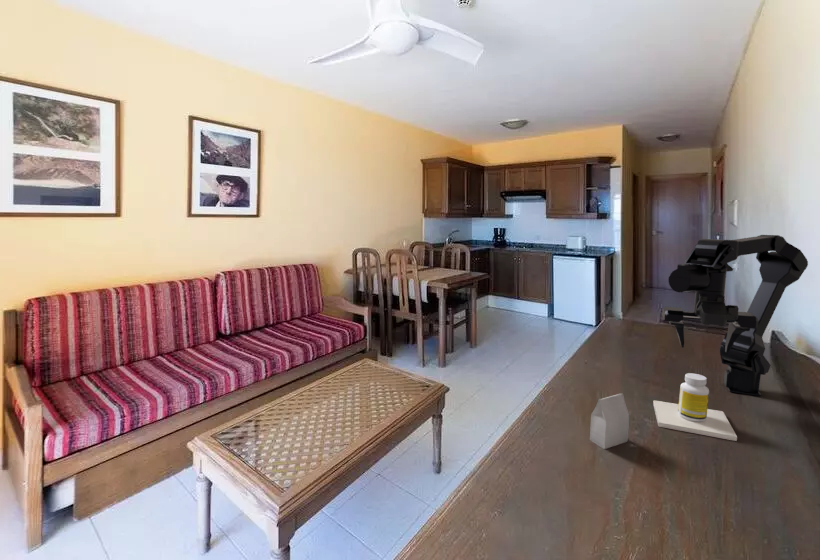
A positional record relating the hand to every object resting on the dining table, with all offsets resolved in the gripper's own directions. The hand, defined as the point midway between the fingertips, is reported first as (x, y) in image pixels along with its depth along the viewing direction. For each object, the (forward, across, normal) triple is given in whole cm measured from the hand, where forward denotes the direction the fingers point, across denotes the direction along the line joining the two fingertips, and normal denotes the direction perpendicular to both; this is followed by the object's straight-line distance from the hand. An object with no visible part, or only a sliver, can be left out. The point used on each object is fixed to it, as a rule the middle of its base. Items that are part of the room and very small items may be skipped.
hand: (704, 349), depth 100 cm
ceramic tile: (+13, -4, -15) cm, 20 cm away
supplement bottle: (+12, -4, -15) cm, 20 cm away
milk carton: (+13, -21, -32) cm, 40 cm away
